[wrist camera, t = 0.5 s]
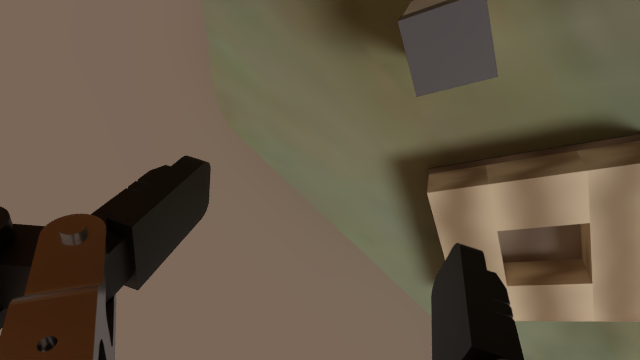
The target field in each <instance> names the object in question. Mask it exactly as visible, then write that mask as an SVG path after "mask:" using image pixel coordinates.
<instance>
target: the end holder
mask: <svg viewBox="0 0 640 360" xmlns="http://www.w3.org/2000/svg"><path fill="white" fill-rule="evenodd" d="M427 195H428V199H429V202H430V206H431V210H432V213H433V217H434V221H435V224H436V228H437V232H438V235H439V239H440V243H441V246H442V250H443V254H444V257H445V260H446V258H447V257H448V255H449V253H450V251H451V249H452V247H453V246H454V245H455V244H456V243H460V244H463V245H466V246H469V247H472V248H475V249H478V250H481V251H483V253H484V256H485V261H486V267H487V270H488V271H491V272H495V273H496V274H497V275H498V277H499V278H500V280H501V281H502V283H503V284H504V285H505V287H506V288H507V293H508V297H509V301H510V307H511V309H512V313H513V319H514V321H632V322H640V134H637V135H631V136H625V137H619V138H613V139H607V140H600V141H594V142H588V143H582V144H576V145H570V146H564V147H558V148H552V149H546V150H540V151H534V152H528V153H522V154H515V155H509V156H503V157H497V158H491V159H485V160H479V161H473V162H467V163H461V164H455V165H449V166H443V167H437V168H431V169H429V176H428V187H427Z"/></svg>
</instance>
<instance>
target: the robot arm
mask: <svg viewBox="0 0 640 360" xmlns="http://www.w3.org/2000/svg"><path fill="white" fill-rule="evenodd" d="M209 188H210V164H209V163H208V162H205V161H202V160H199V159H196V158H193V157H190V156H184V157H182V158H181V159H180V160H178V161H177V162H176V163H175V164H173V165H172V166H167V165H164V166H162V167H159V168H156V169H153V170H150V171H149V172H147V173H146V174H145V175H143V176H142V177H141V178H139V179H138V181H135V182H134V183H133V184H131V185H130V186H129V187H128V189H124V190H123V191H122V192H120V193H119V194H118V195H116V196H115V197H114V198H112V199H111V200H110V201H108V202H107V203H106V204H104V205H103V206H102V207H100V208H99V209H97V210H96V211H95V212H93V213H92V214H91V215H89V214H72V215H67V216H63V217H60V218H58V219H56V220H54V221H52V222H50V223H49V224H47V225H46V226H34V225H33V226H32V225H21V224H12V221H11V218H10V215H9V213H8V211H7V210H6V209H4V208H2V207H0V329H1V328H2V331H1V335H0V360H115V334H116V293H117V292H118V291H119V289H120V288H121V287H122V286H123V285H125V286H128V287H130V288H133V289H136V290H139V289H140V288H141V286H142V285H143V284H144V283H145V282H146V281H147V280H148V279H149V277H150V276H151V275H152V274H153V273H154V272H155V271H156V270H157V268H158V267H159V266H160V265H161V264H162V263H163V262H164V260H165V259H166V258H167V257H168V256H169V255H170V254H171V253H172V252H173V250H174V249H175V248H176V247H177V246H178V245H179V244H180V242H181V241H182V240H183V239H184V238H185V237H186V236H187V235H188V233H189V232H190V231H191V230H192V229H193V228H194V227H195V225H196V224H197V223H198V222H199V221H200V220H201V219H202V217H203V216H204V214H205V212H206V210H207V207H208V203H209ZM431 303H432V360H524V357H523V353H522V349H521V345H520V341H519V337H518V333H517V329H516V325H515V321H514V319H513V313H512V309H511V307H510V301H509V297H508V293H507V288H506V287H505V285H504V284H503V283H502V281H501V280H500V278H499V277H498V275H497V274H496V273H495V272H491V271H488V270H487V267H486V261H485V256H484V253H483V251H481V250H478V249H475V248H472V247H469V246H466V245H463V244H460V243H456V244H455V245H454V246H453V247H452V249H451V251H450V253H449V255H448V257H447V258H446V260H445V262H444V264H443V266H442V268H441V269H440V271H439V273H438V275H437V277H436V279H435V282H434V285H433V289H432V296H431Z"/></svg>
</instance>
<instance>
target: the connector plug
mask: <svg viewBox="0 0 640 360" xmlns="http://www.w3.org/2000/svg"><path fill="white" fill-rule="evenodd" d="M398 25H399V29H400V33H401V37H402V41H403V45H404V49H405V52H406V56H407V60H408V64H409V68H410V72H411V76H412V80H413V84H414V88H415V92H416V96H417V97H418V96H422V95H426V94H430V93H434V92H438V91H442V90H446V89H450V88H454V87H458V86H462V85H466V84H470V83H474V82H478V81H482V80H486V79H490V78H494V77H498V74H497V67H496V60H495V53H494V46H493V39H492V33H491V26H490V19H489V12H488V5H487V0H414V1H411V2H410V4H409V6H408V7H407V9H406V11H405V12H404V14H403V16H401V17H400V18H399V20H398Z"/></svg>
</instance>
